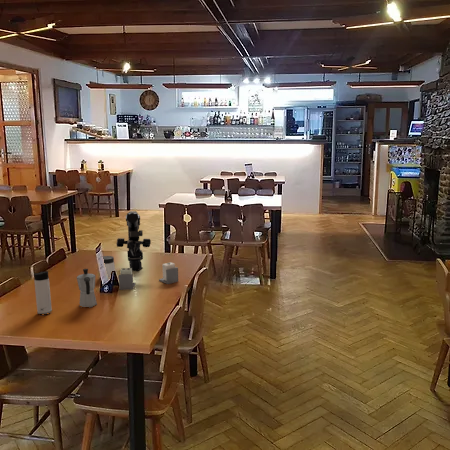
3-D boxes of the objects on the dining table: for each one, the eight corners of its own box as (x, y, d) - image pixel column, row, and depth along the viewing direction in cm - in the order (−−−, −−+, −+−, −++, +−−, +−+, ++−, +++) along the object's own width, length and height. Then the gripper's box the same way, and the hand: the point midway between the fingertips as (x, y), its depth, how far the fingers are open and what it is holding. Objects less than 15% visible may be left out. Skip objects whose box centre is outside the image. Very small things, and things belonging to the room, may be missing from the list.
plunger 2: (163, 279, 265) (162, 263, 263) (171, 277, 268) (170, 261, 267) (167, 281, 262) (166, 265, 260) (175, 278, 266) (174, 263, 264)
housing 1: (121, 284, 261) (121, 270, 259) (135, 284, 261) (134, 270, 260) (119, 289, 253) (118, 275, 251) (133, 289, 253) (132, 274, 251)
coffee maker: (77, 301, 235) (75, 266, 232) (96, 299, 238) (93, 264, 235) (80, 312, 222) (77, 274, 218) (99, 309, 225) (96, 272, 221)
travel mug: (43, 316, 217) (39, 274, 213) (34, 313, 220) (30, 272, 217) (55, 312, 222) (51, 270, 218) (46, 309, 226) (42, 268, 222)
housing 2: (158, 280, 266) (158, 267, 265) (169, 278, 271) (168, 264, 270) (168, 284, 260) (167, 270, 259) (178, 281, 265) (177, 267, 264)
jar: (99, 276, 277) (97, 256, 274) (113, 274, 280) (112, 255, 277) (101, 280, 268) (100, 260, 266) (116, 278, 272) (114, 258, 269)
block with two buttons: (122, 284, 258) (121, 267, 256) (132, 283, 258) (132, 267, 256) (121, 286, 254) (120, 269, 252) (131, 286, 254) (130, 269, 253)
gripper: (117, 224, 266) (118, 249, 258) (151, 225, 271) (152, 249, 264) (116, 234, 275) (116, 258, 267) (148, 234, 280) (150, 258, 273)
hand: (134, 256), depth 268 cm, fingers closed
